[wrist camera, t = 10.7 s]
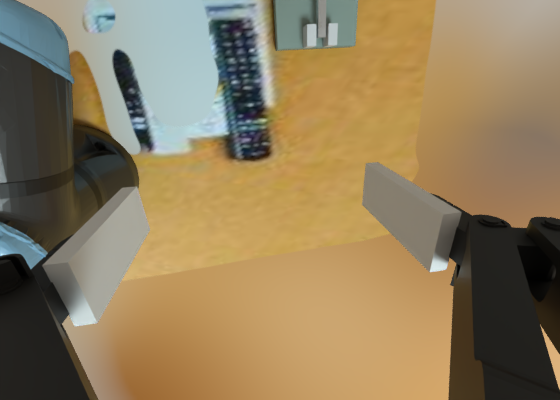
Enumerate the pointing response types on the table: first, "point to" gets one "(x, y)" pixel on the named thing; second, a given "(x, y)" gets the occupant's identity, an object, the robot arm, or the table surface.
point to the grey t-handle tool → (320, 18)
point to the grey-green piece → (314, 24)
